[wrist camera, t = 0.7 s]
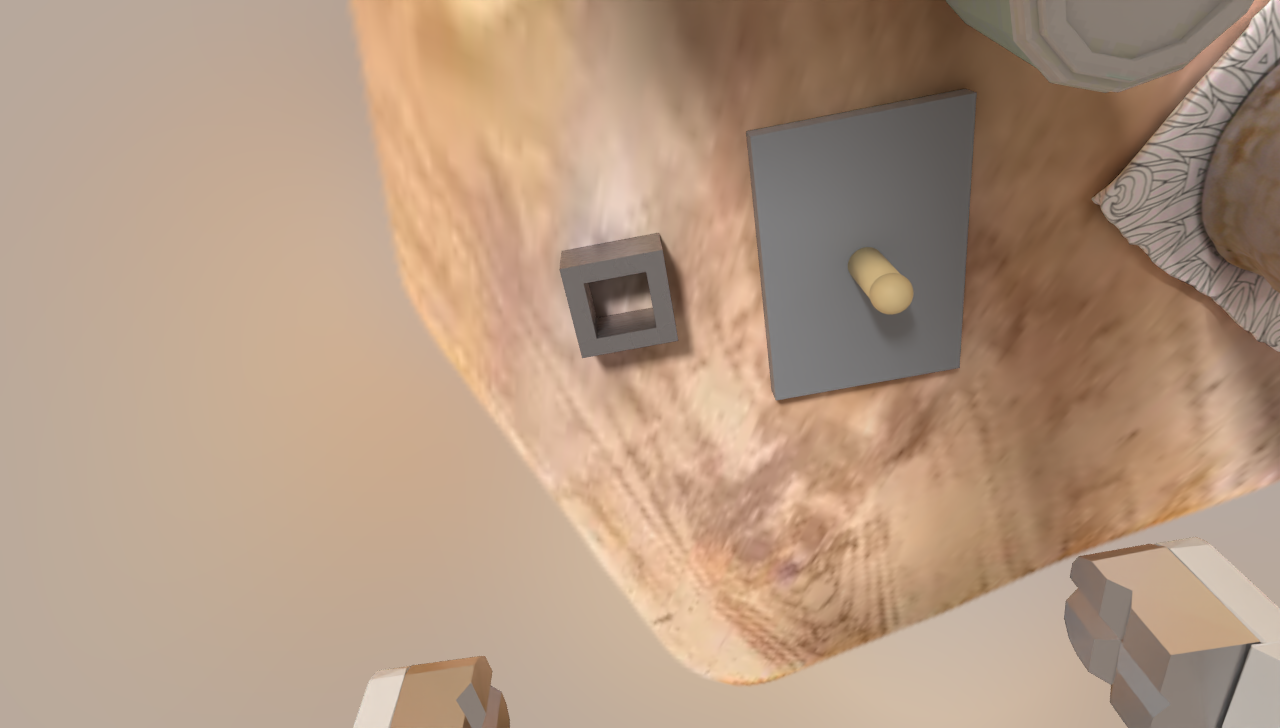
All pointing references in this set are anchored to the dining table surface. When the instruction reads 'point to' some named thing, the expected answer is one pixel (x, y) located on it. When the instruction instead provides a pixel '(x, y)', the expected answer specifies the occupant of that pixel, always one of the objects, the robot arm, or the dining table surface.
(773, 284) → the keeper board
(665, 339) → the hollow square frame
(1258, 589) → the robot arm
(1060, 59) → the disposable coffee cup
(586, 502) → the dining table surface
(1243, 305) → the cookie jar
